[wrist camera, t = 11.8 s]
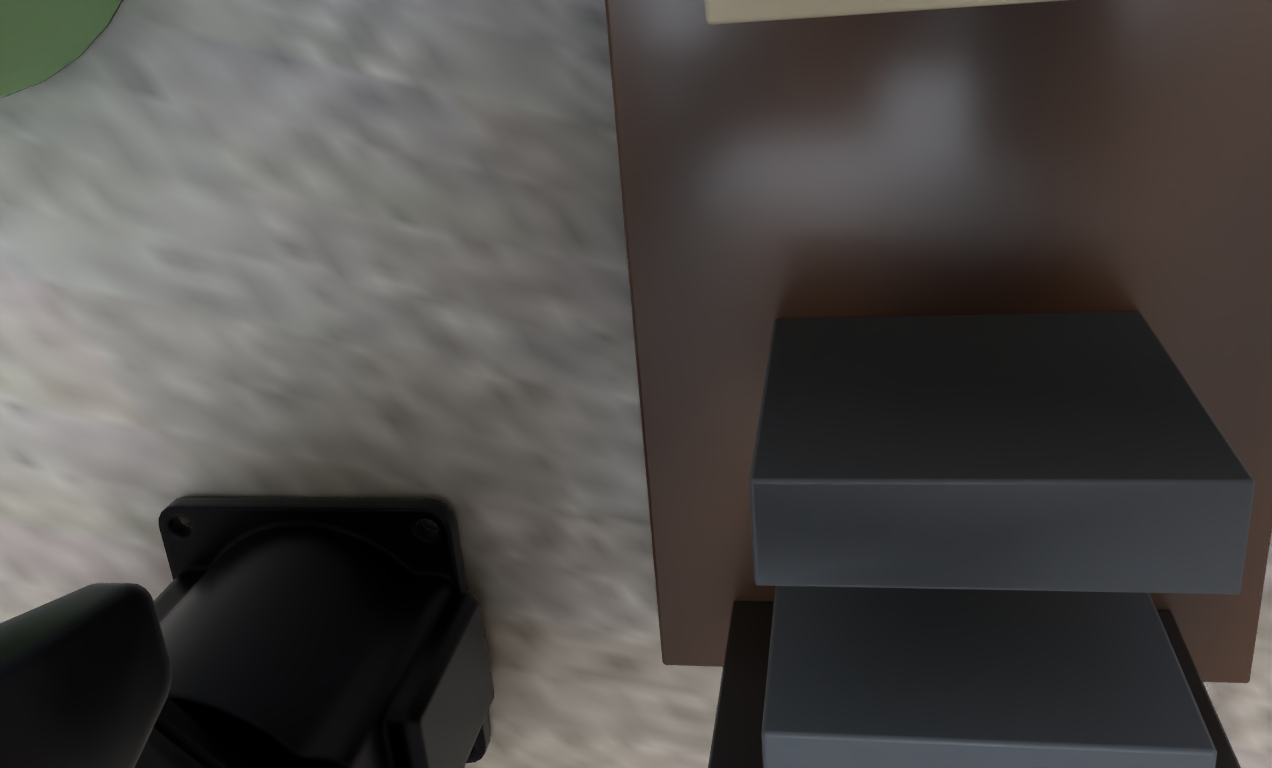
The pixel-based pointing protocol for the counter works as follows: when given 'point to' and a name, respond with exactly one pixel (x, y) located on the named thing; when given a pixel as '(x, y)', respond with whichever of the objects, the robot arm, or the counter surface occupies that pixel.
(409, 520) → the robot arm
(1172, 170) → the book rack
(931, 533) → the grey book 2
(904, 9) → the cream book
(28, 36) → the mug
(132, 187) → the counter surface
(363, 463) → the counter surface
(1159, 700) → the grey book
